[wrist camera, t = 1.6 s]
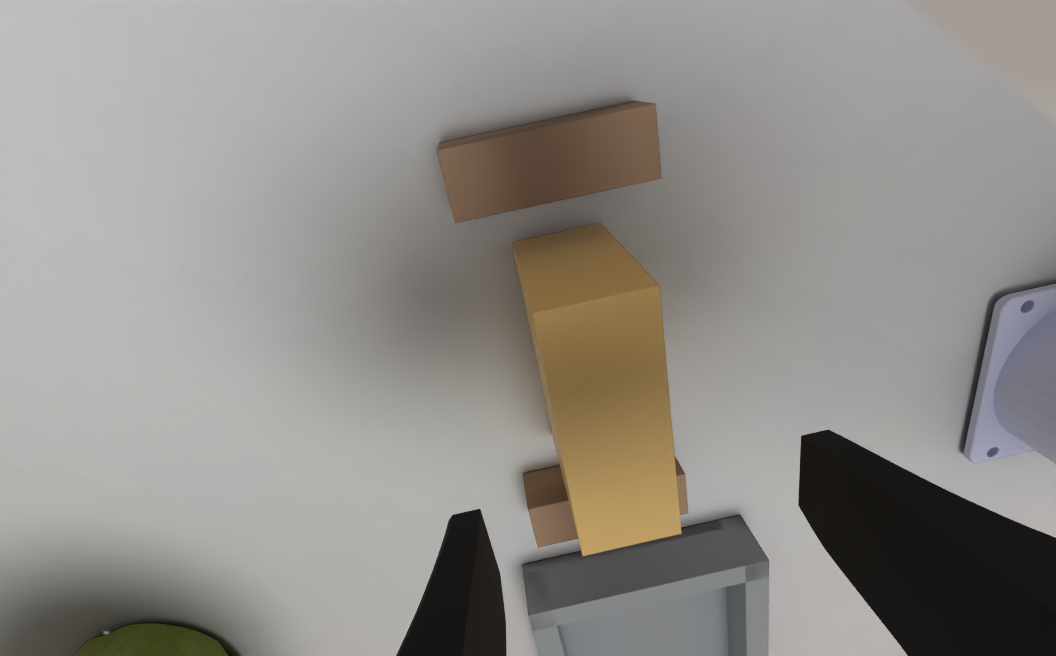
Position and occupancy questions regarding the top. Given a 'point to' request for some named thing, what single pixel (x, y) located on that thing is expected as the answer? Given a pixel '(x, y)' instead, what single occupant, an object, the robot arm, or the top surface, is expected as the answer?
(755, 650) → the tray
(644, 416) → the block
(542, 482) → the brown block pair
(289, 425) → the top surface
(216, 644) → the plant pot
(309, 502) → the top surface
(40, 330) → the top surface
